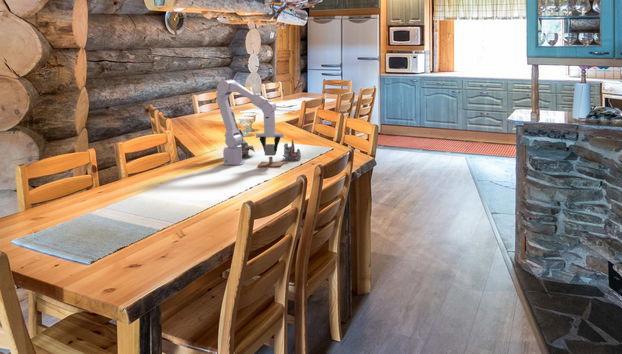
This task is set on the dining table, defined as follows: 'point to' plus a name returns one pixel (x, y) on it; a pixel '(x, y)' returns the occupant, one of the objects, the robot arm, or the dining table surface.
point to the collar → (270, 149)
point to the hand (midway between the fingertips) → (270, 151)
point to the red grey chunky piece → (291, 152)
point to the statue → (244, 144)
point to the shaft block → (270, 163)
